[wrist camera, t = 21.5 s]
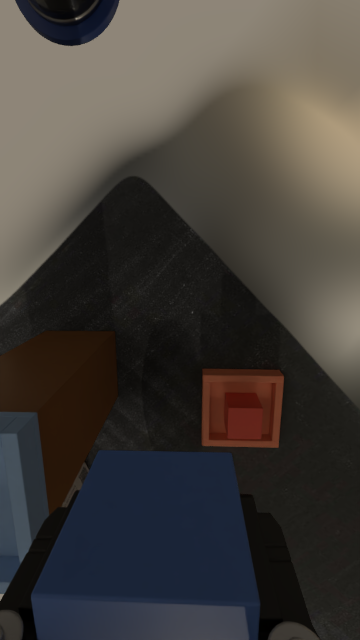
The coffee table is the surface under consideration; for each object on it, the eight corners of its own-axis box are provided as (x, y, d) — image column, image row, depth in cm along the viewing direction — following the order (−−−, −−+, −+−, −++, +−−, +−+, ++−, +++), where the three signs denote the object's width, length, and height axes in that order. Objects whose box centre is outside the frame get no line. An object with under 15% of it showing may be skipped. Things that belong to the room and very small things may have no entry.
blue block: (98, 449, 10) (28, 595, 6) (231, 451, 10) (261, 605, 6) (106, 555, 11) (52, 748, 7) (228, 559, 11) (250, 759, 7)
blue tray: (38, 323, 44) (-184, 429, 18) (121, 324, 43) (16, 433, 17) (46, 400, 46) (-136, 588, 21) (125, 401, 46) (38, 596, 20)
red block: (224, 392, 44) (228, 407, 40) (256, 392, 44) (263, 408, 40) (223, 420, 45) (227, 438, 41) (254, 420, 45) (261, 439, 41)
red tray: (202, 368, 44) (202, 375, 42) (279, 369, 44) (284, 376, 41) (201, 436, 47) (201, 446, 44) (274, 437, 46) (278, 447, 44)
